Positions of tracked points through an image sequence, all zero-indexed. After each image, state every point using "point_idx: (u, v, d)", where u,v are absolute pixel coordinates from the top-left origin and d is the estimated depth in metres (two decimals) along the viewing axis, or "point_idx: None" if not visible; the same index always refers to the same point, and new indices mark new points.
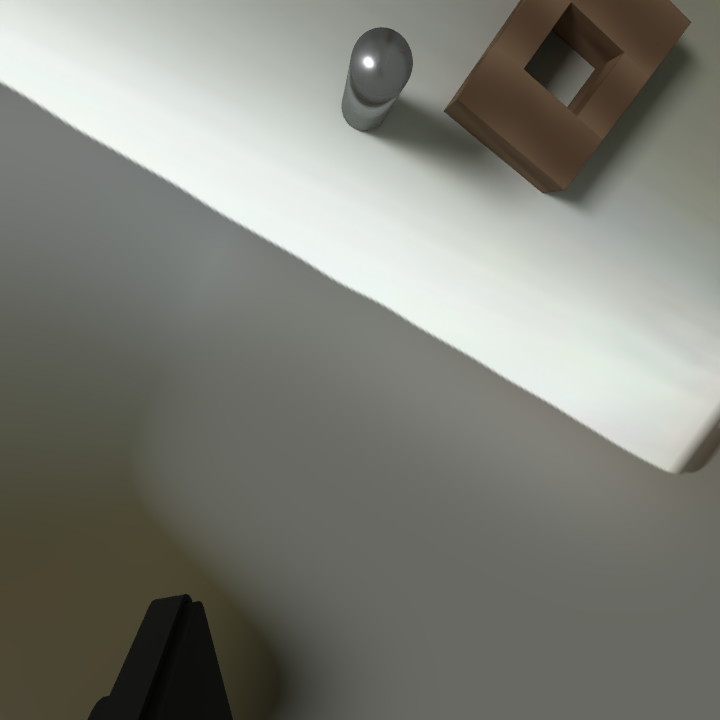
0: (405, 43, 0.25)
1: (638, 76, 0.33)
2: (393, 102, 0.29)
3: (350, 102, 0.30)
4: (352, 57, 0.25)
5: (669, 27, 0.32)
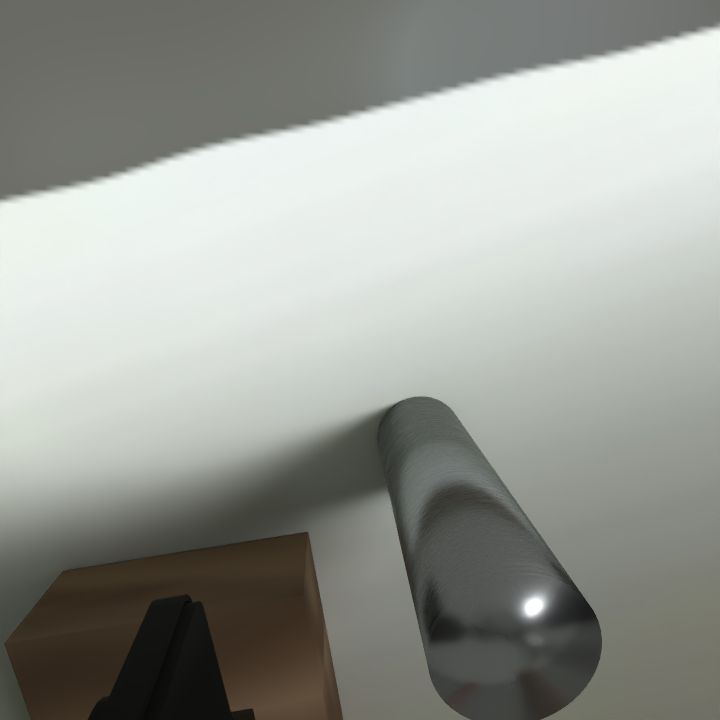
0: None
1: None
2: (401, 541, 0.12)
3: (468, 461, 0.13)
4: (586, 607, 0.09)
5: None
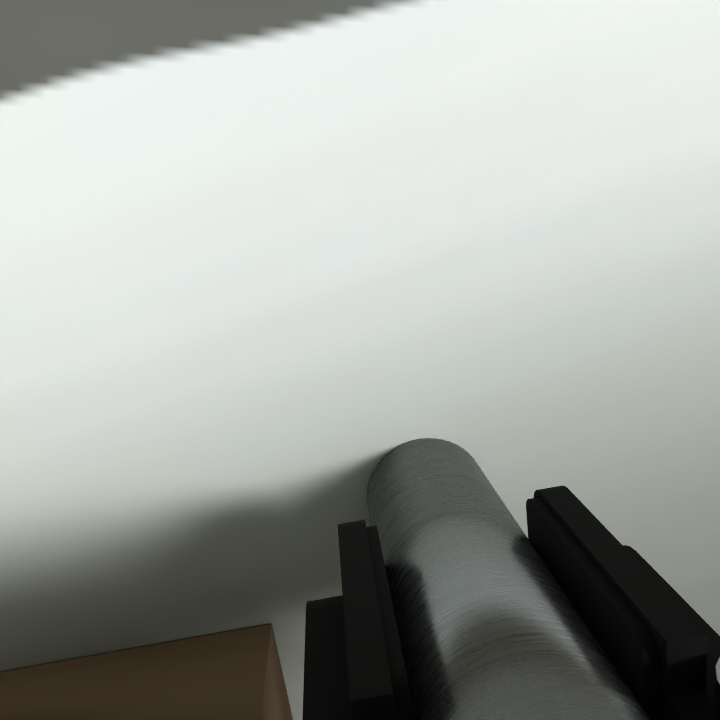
0: None
1: None
2: None
3: (522, 581, 0.08)
4: None
5: None
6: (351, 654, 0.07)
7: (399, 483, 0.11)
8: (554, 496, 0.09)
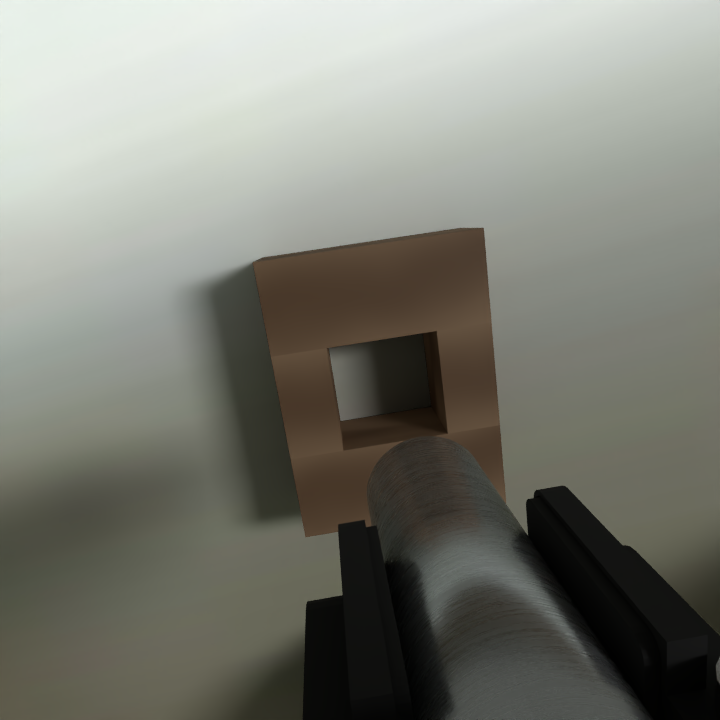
0: None
1: (303, 447, 0.22)
2: None
3: (522, 577, 0.08)
4: None
5: (322, 512, 0.23)
6: (351, 654, 0.07)
7: (399, 480, 0.11)
8: (554, 496, 0.09)
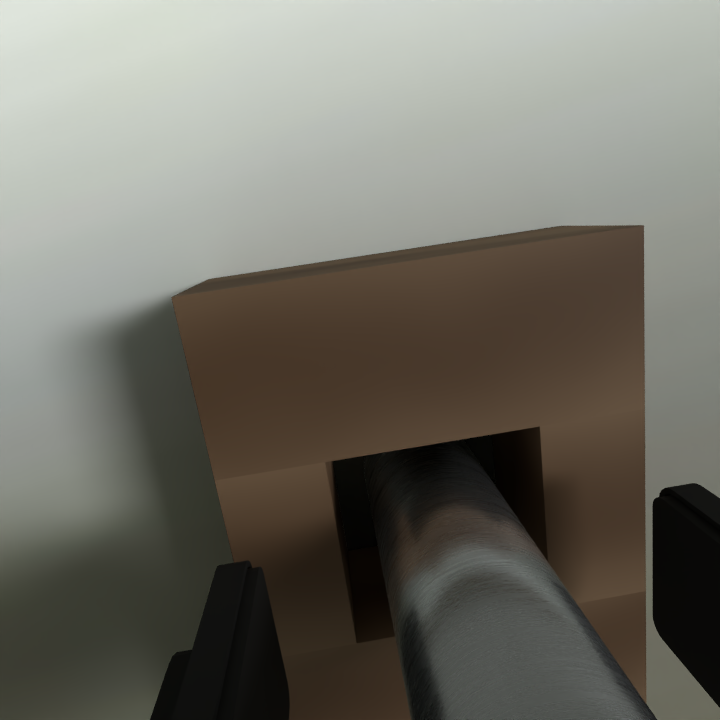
0: None
1: (281, 640, 0.12)
2: (400, 651, 0.08)
3: (493, 523, 0.09)
4: None
5: None
6: None
7: (392, 453, 0.13)
8: (690, 494, 0.09)
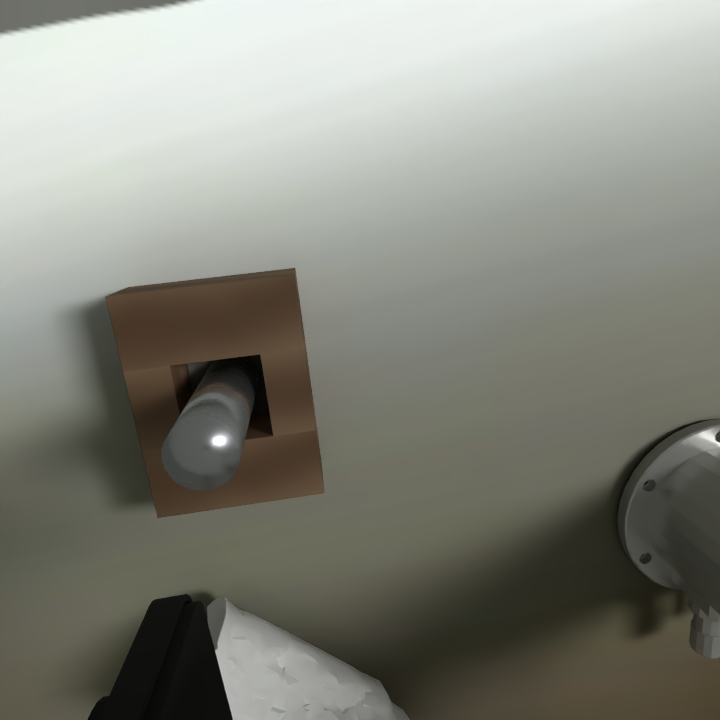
0: (196, 488, 0.21)
1: (153, 444, 0.27)
2: None
3: (224, 384, 0.25)
4: (230, 435, 0.21)
5: (170, 498, 0.28)
6: None
7: (210, 369, 0.28)
8: None
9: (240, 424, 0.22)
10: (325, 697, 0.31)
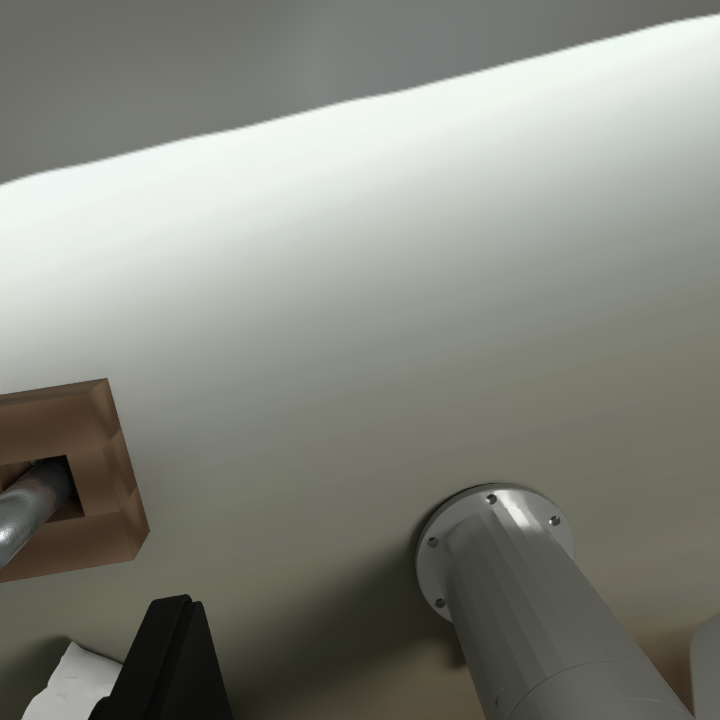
0: None
1: None
2: None
3: (27, 483, 0.32)
4: None
5: (8, 567, 0.35)
6: None
7: None
8: None
9: (21, 521, 0.29)
10: None
